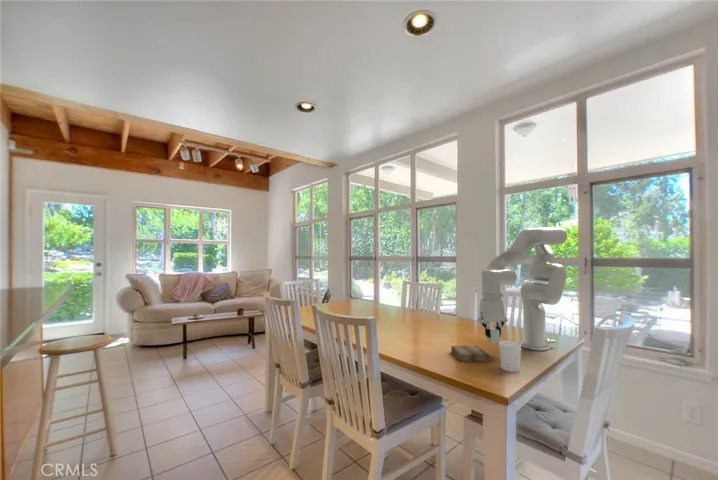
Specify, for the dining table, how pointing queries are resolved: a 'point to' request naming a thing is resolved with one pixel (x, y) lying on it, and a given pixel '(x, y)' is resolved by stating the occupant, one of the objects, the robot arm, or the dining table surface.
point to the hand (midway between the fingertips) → (493, 336)
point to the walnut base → (470, 354)
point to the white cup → (510, 355)
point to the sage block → (494, 336)
